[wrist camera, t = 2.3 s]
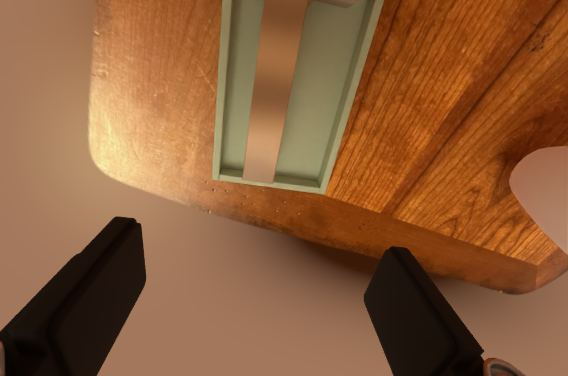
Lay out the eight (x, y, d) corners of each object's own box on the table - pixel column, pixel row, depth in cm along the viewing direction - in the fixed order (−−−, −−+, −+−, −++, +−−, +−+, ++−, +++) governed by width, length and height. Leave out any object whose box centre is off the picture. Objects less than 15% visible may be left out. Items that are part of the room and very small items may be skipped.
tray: (215, 170, 23) (211, 179, 21) (239, -189, 13) (235, -225, 11) (320, 185, 24) (324, 194, 23) (411, -126, 15) (430, -150, 13)
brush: (305, 169, 23) (313, 189, 19) (238, 159, 22) (233, 179, 18) (373, -103, 15) (407, -152, 11) (271, -138, 14) (274, -203, 10)
